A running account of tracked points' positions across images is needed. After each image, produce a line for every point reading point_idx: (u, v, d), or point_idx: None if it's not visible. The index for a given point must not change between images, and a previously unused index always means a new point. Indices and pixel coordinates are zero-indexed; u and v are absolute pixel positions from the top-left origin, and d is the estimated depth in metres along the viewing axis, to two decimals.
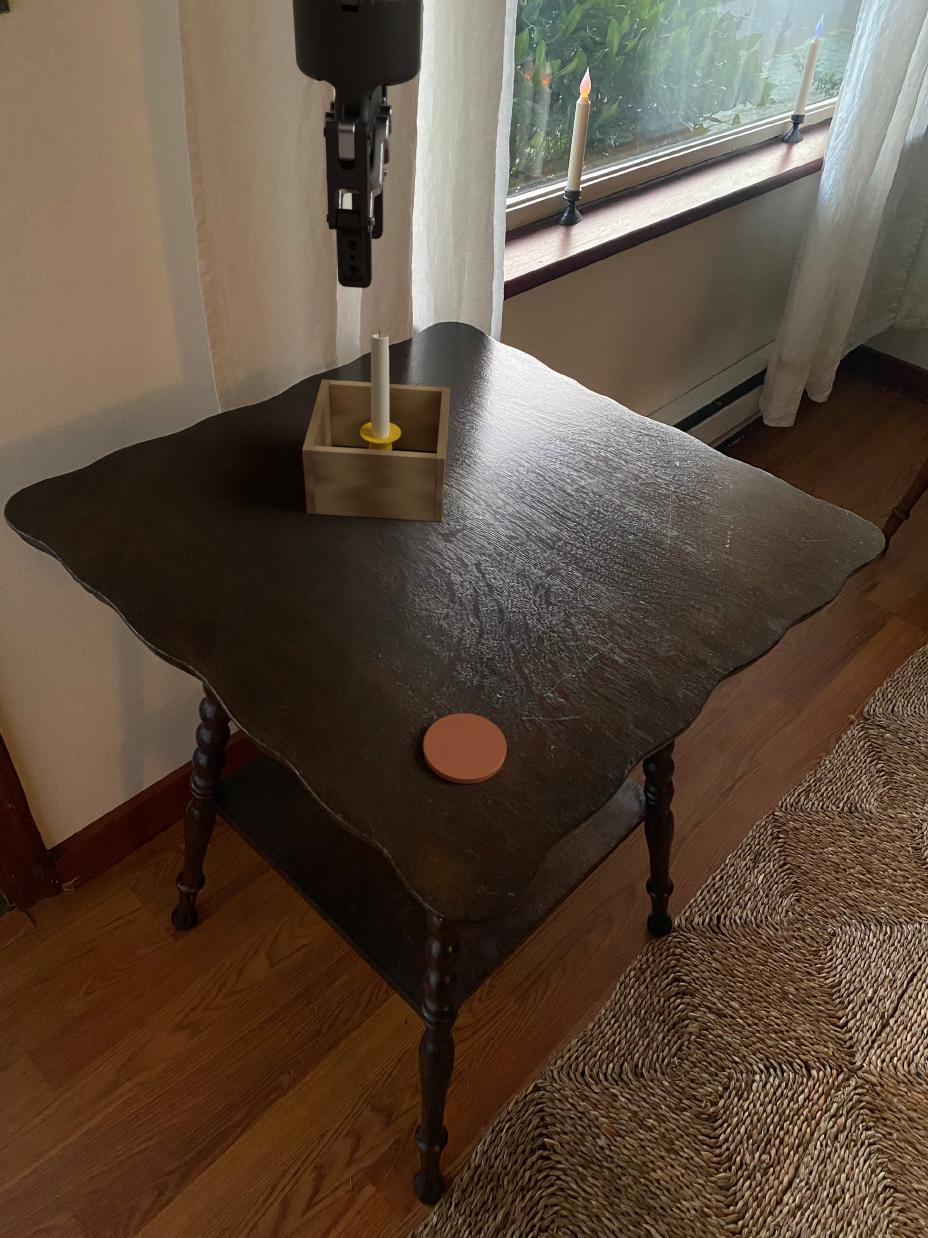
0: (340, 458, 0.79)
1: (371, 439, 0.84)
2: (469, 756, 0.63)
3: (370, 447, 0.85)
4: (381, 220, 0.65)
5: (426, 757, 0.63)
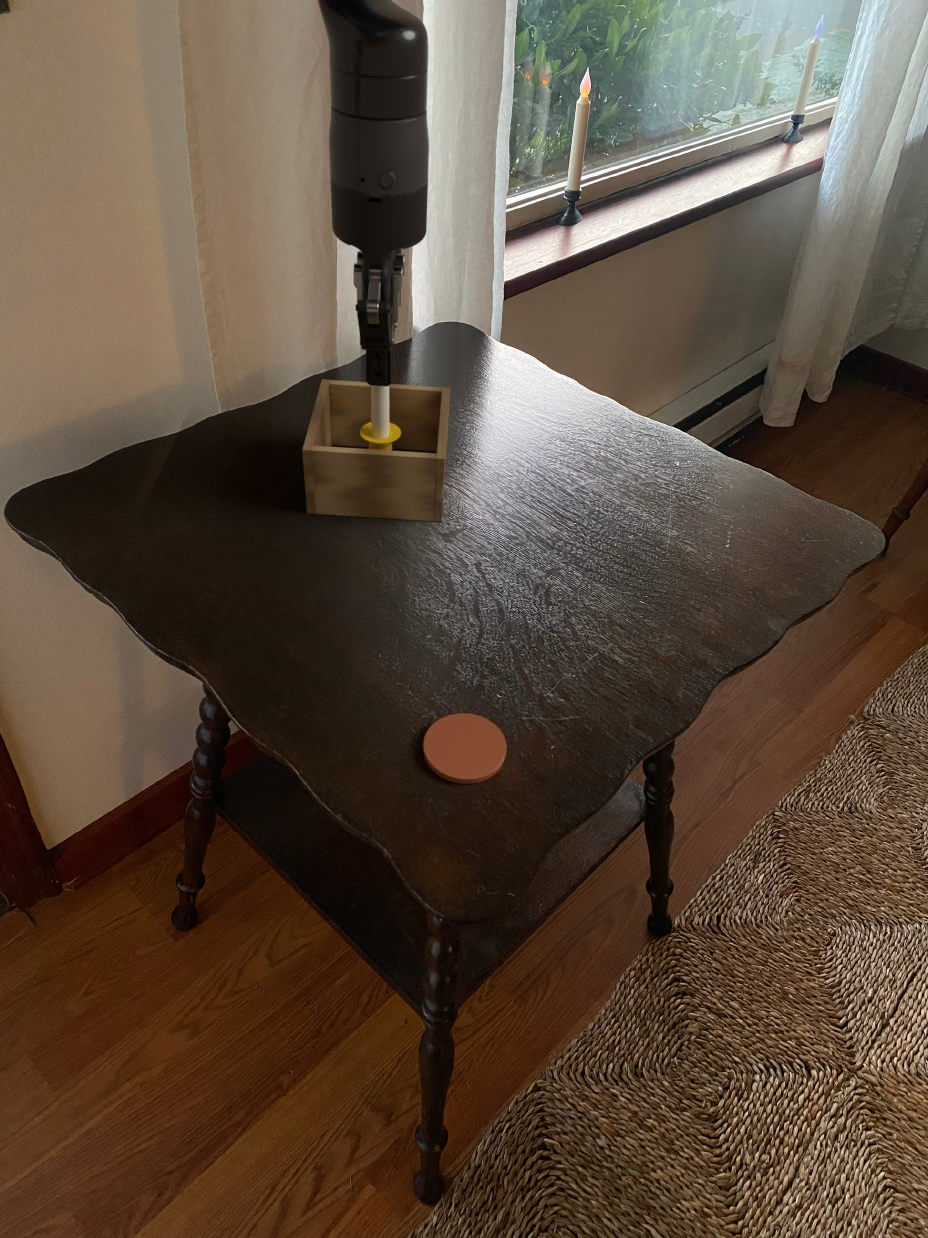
0: (340, 458, 0.79)
1: (371, 439, 0.84)
2: (469, 756, 0.63)
3: (370, 447, 0.85)
4: (392, 360, 0.80)
5: (426, 757, 0.63)
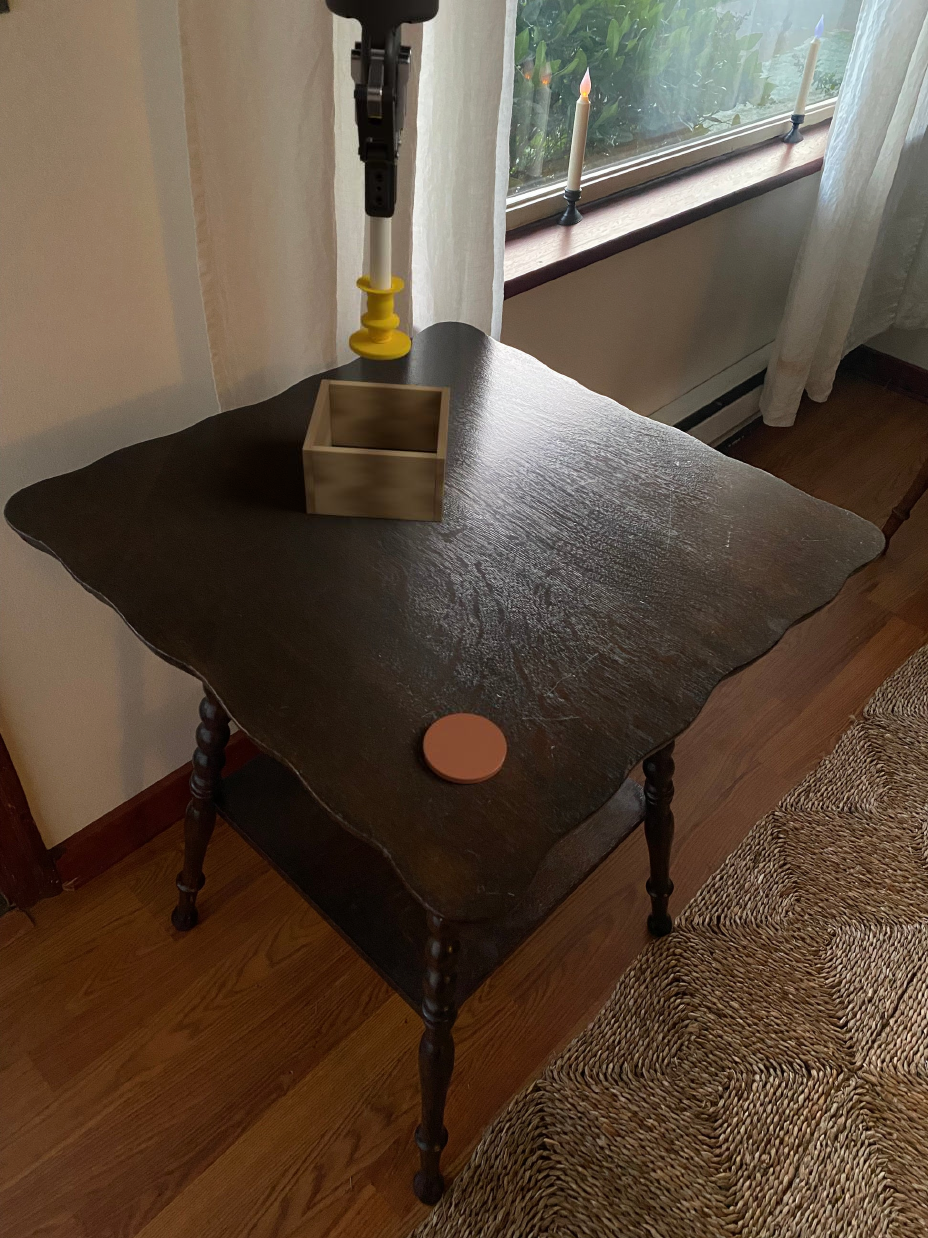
0: (340, 458, 0.79)
1: (370, 290, 0.71)
2: (469, 756, 0.63)
3: (369, 302, 0.73)
4: (395, 189, 0.68)
5: (426, 757, 0.63)
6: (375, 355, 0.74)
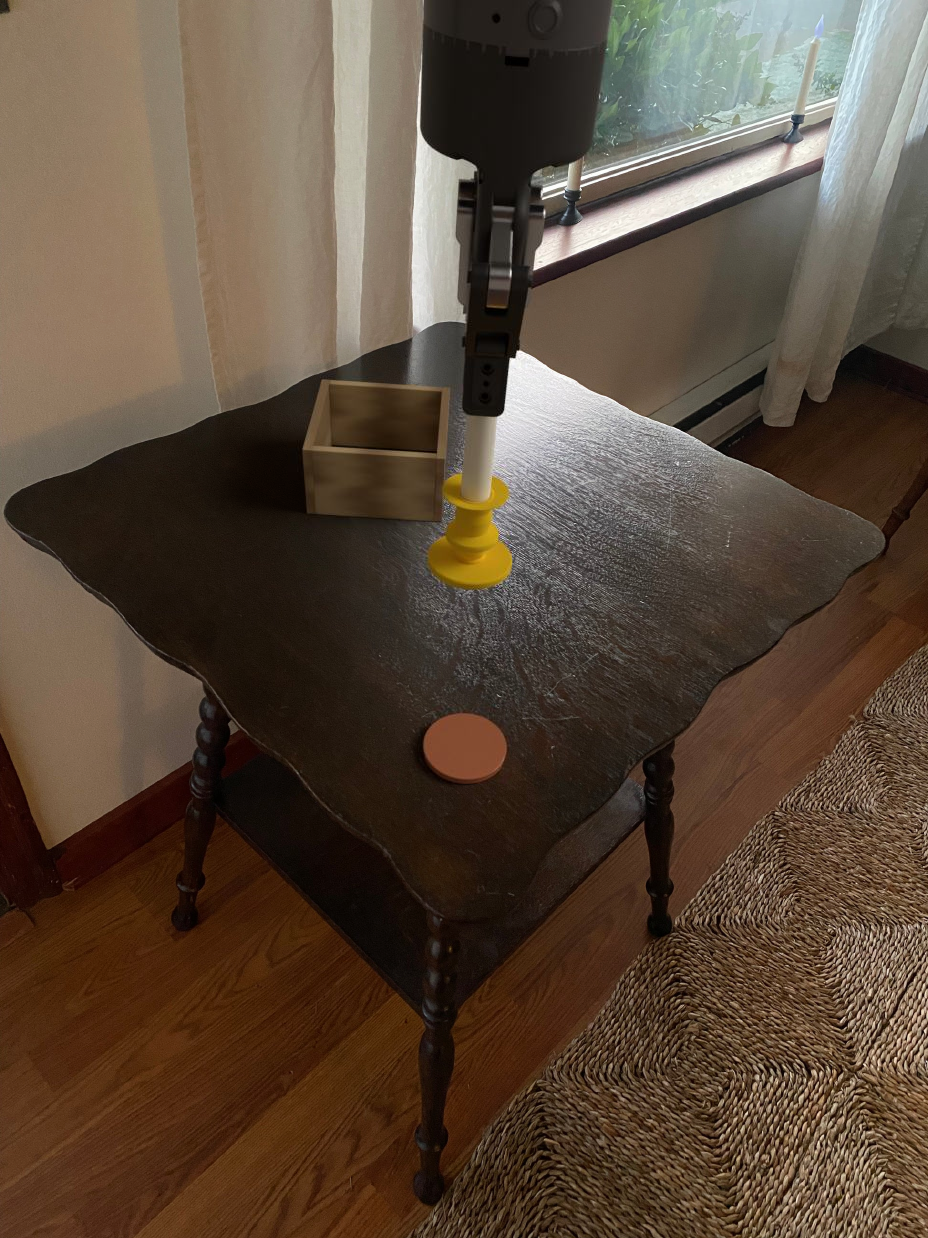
0: (340, 458, 0.79)
1: (462, 503, 0.51)
2: (469, 756, 0.63)
3: (459, 515, 0.52)
4: None
5: (426, 757, 0.63)
6: (466, 585, 0.53)
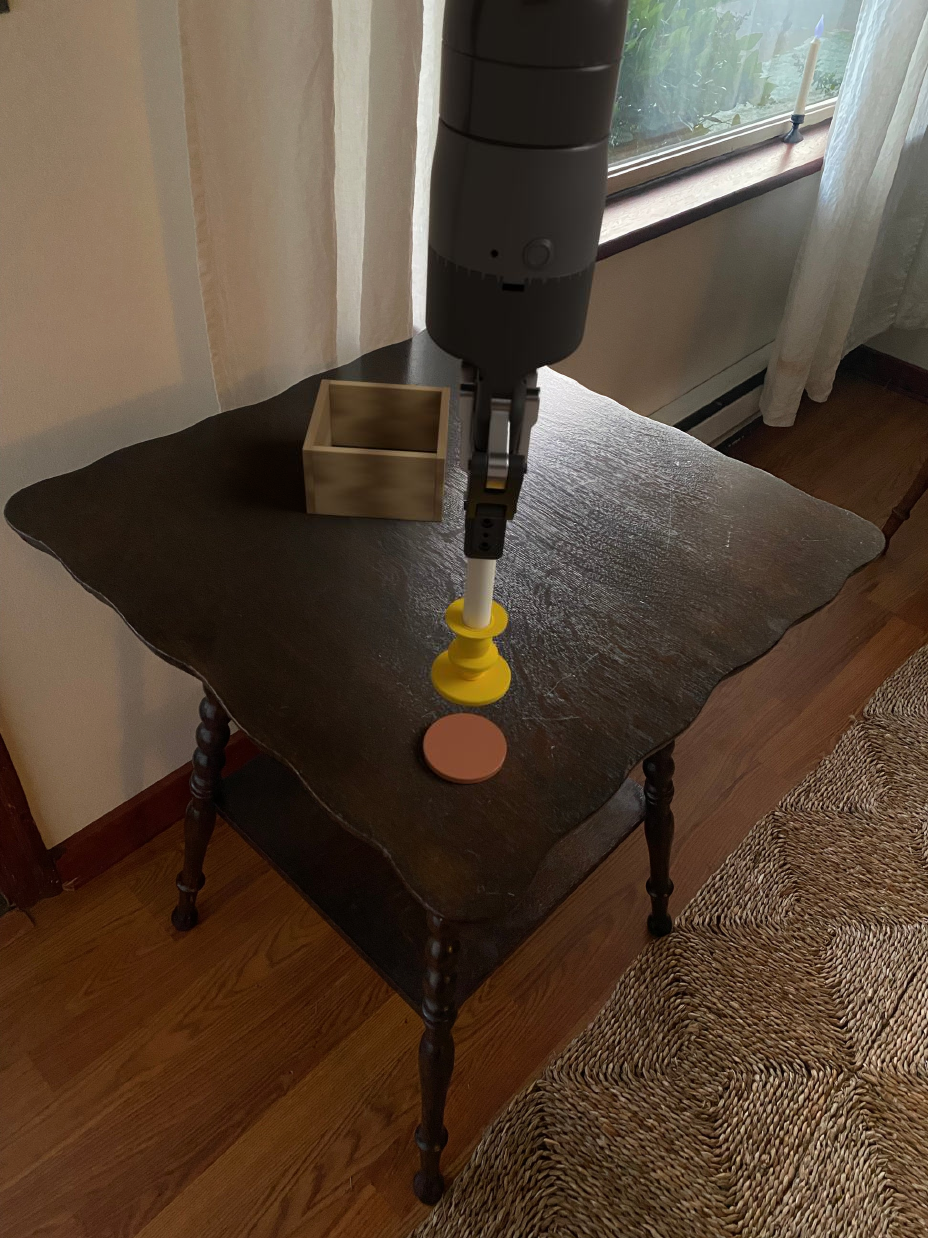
0: (340, 458, 0.79)
1: (464, 631, 0.54)
2: (469, 756, 0.63)
3: (461, 639, 0.56)
4: None
5: (426, 757, 0.63)
6: (467, 702, 0.56)
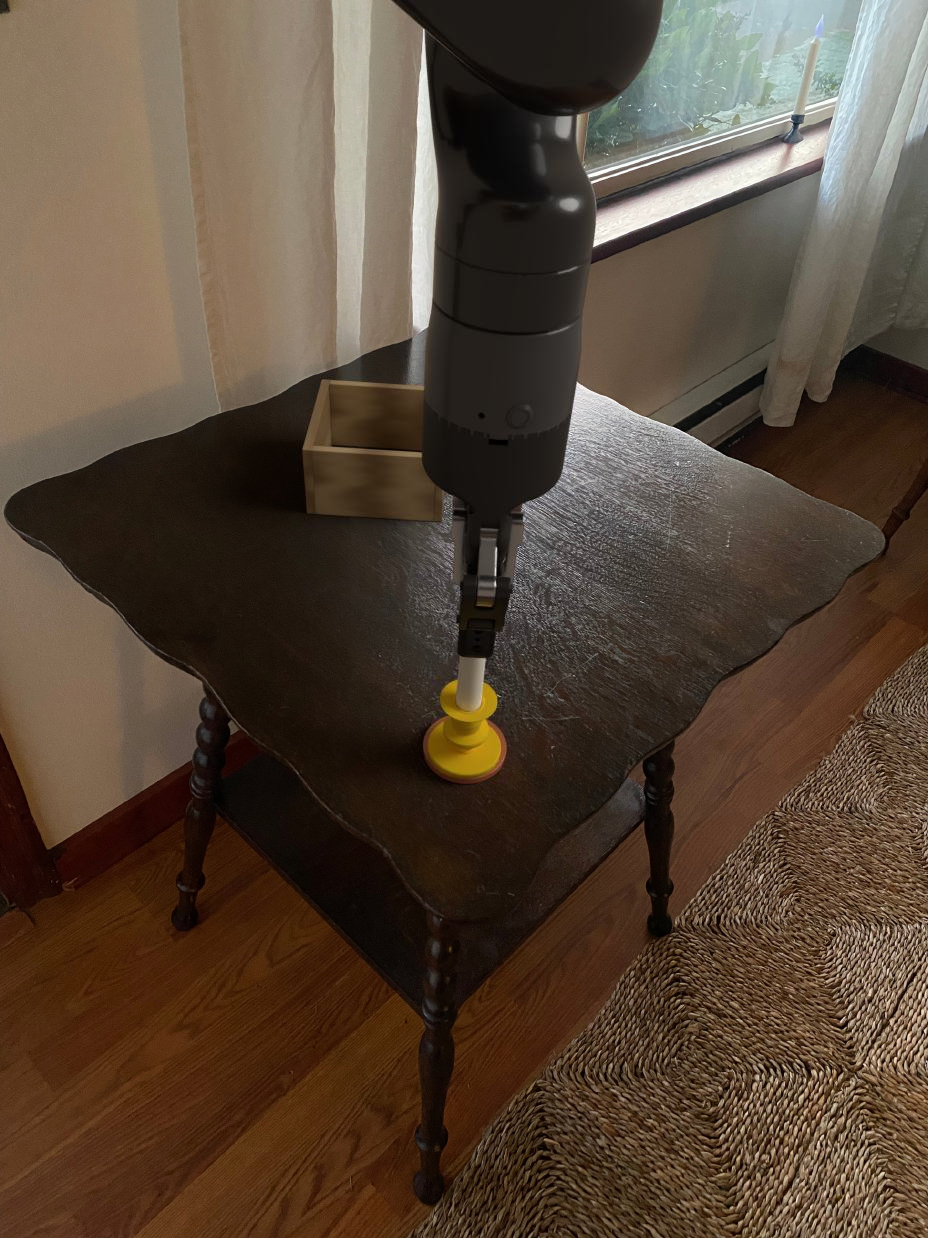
0: (340, 458, 0.79)
1: (457, 714, 0.59)
2: None
3: (454, 719, 0.61)
4: None
5: (426, 757, 0.63)
6: (460, 775, 0.62)
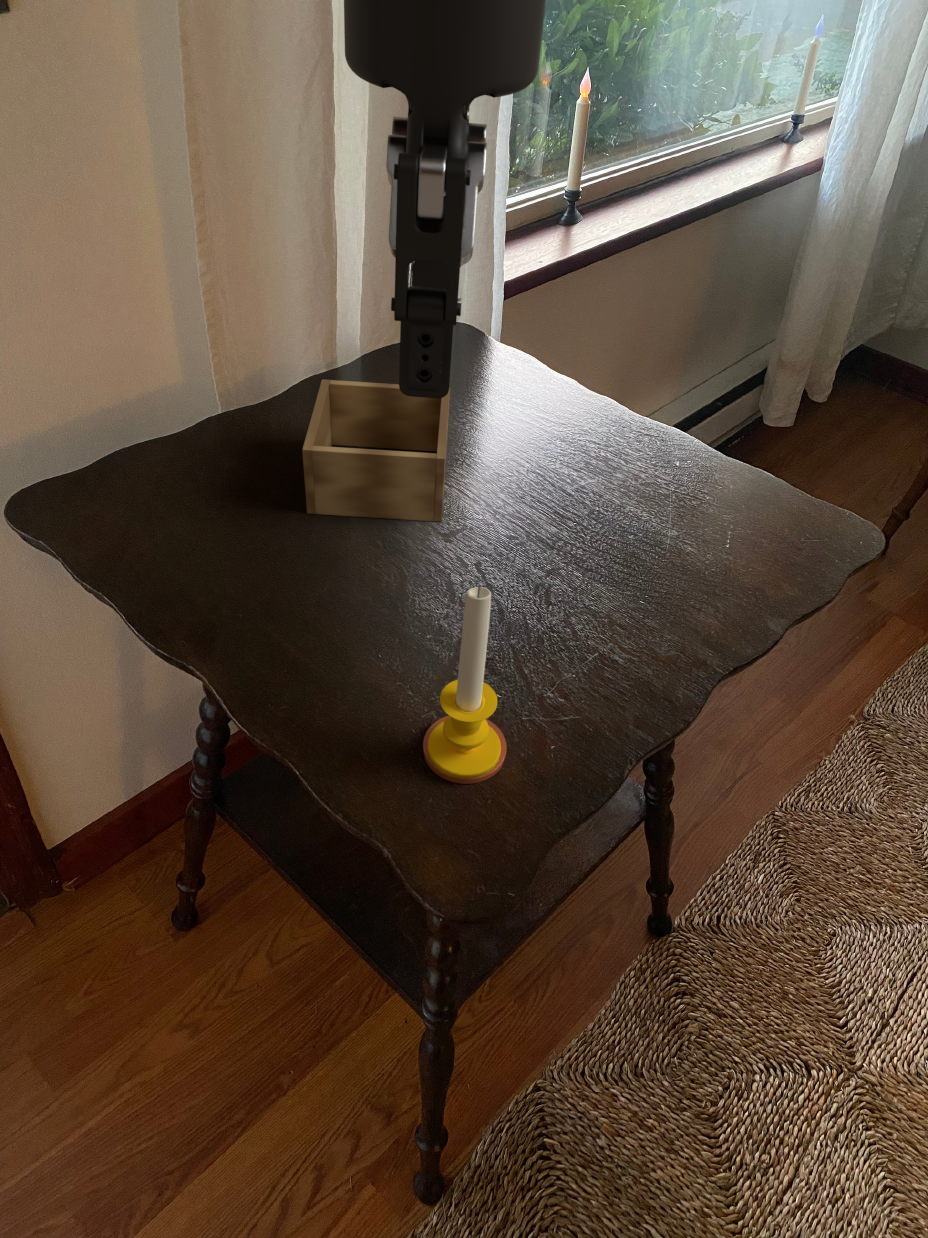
0: (340, 458, 0.79)
1: (457, 714, 0.59)
2: None
3: (454, 719, 0.61)
4: None
5: (426, 757, 0.63)
6: (460, 775, 0.62)
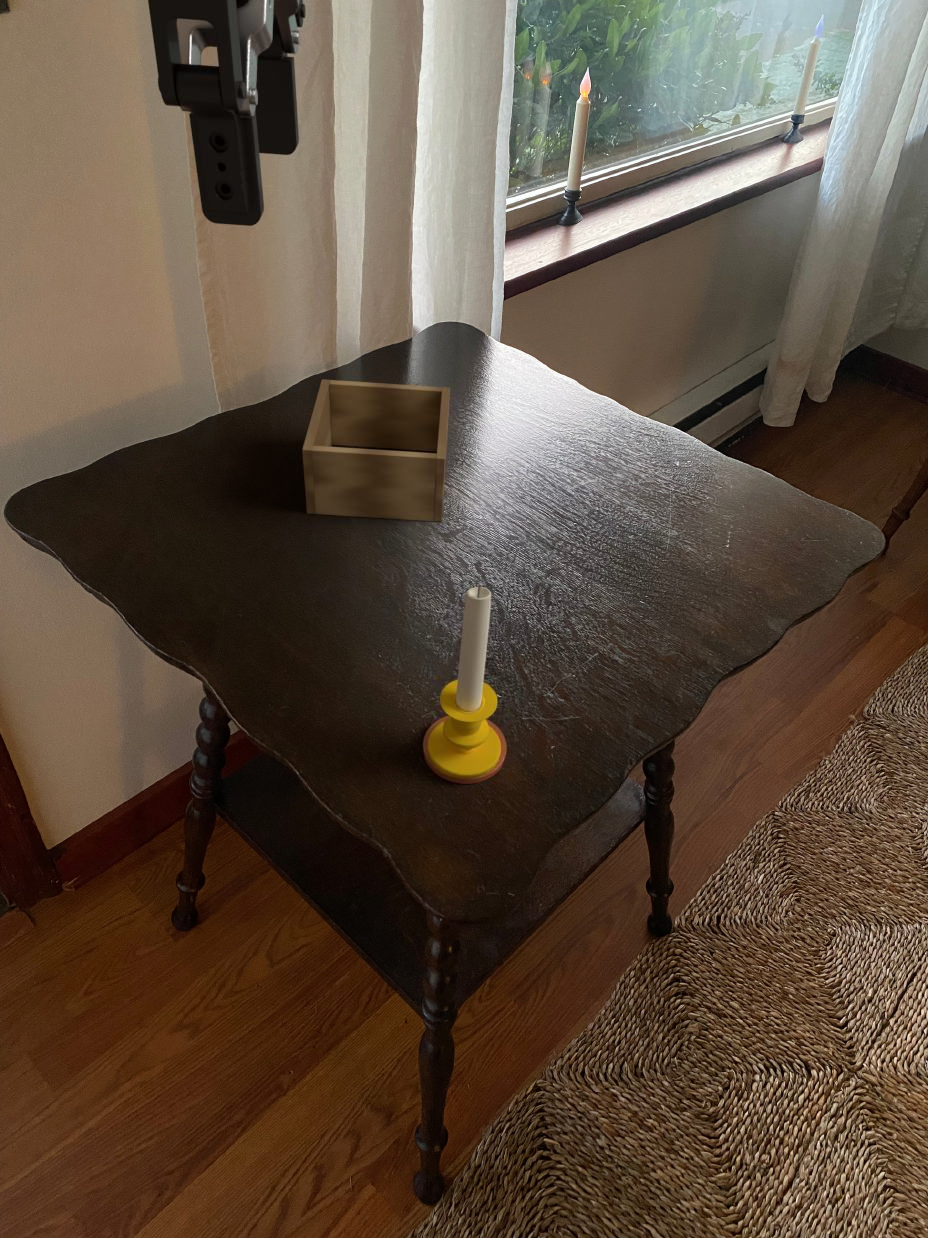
0: (340, 458, 0.79)
1: (457, 714, 0.59)
2: None
3: (454, 719, 0.61)
4: (293, 122, 0.39)
5: (426, 757, 0.63)
6: (460, 775, 0.62)
